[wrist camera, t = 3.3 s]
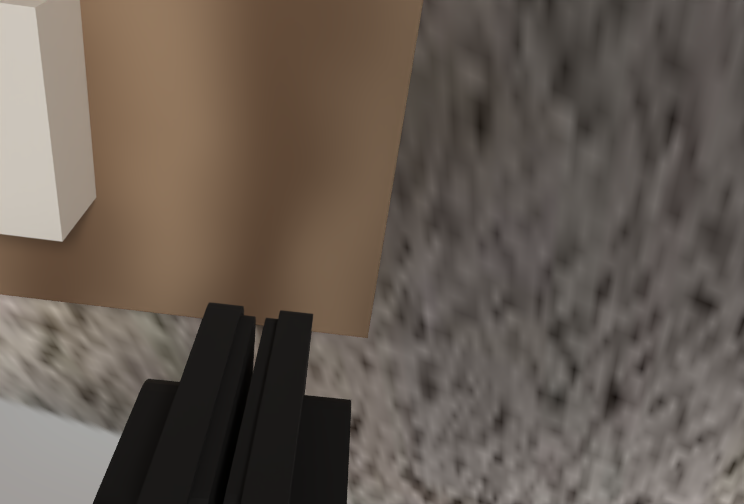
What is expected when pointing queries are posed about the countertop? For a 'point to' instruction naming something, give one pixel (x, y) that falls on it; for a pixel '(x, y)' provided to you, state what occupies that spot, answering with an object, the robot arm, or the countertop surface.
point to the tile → (43, 119)
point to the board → (233, 159)
